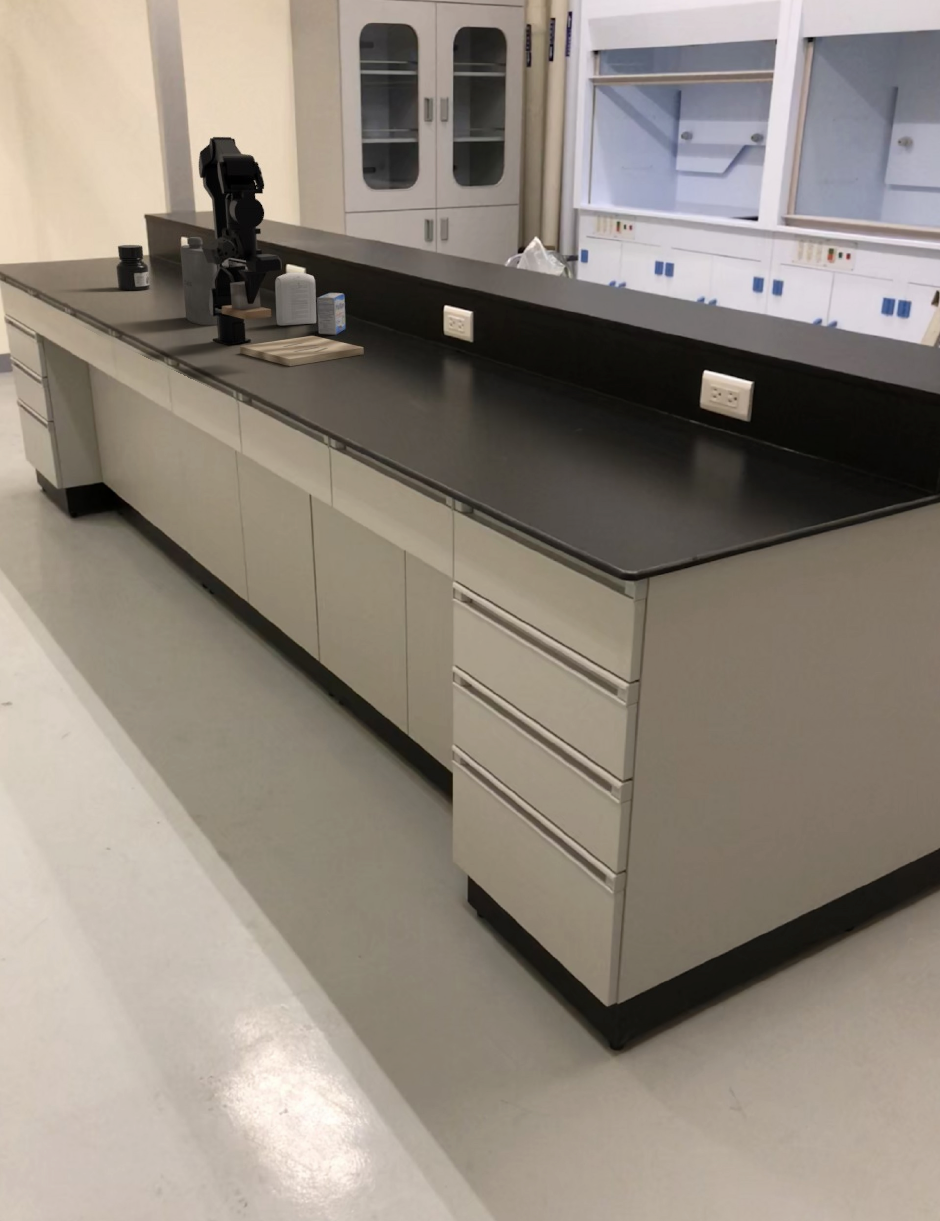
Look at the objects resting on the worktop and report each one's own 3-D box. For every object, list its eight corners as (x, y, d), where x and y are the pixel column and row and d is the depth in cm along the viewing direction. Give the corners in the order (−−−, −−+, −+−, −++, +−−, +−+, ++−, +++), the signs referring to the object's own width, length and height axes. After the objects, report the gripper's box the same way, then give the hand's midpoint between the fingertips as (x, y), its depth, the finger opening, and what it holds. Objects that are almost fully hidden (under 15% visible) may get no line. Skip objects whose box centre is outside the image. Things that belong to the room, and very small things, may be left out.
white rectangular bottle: (311, 321, 282) (309, 270, 277) (319, 323, 279) (317, 272, 274) (274, 324, 277) (271, 272, 272) (281, 326, 274) (279, 274, 269)
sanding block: (222, 313, 232) (220, 281, 229) (246, 310, 235) (244, 278, 233) (246, 319, 226) (244, 286, 223) (271, 316, 230) (269, 284, 227)
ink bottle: (144, 291, 322) (140, 248, 317) (114, 290, 322) (109, 247, 317) (153, 286, 331) (149, 244, 326) (124, 286, 331) (119, 243, 326)
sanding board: (240, 353, 243) (239, 346, 242) (313, 342, 256) (312, 335, 255) (290, 366, 231) (289, 358, 231) (363, 354, 245) (363, 347, 244)
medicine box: (335, 335, 265) (334, 297, 262) (318, 334, 266) (316, 296, 262) (345, 329, 272) (344, 293, 269) (328, 328, 273) (327, 292, 269)
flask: (180, 317, 283) (173, 234, 275) (202, 315, 286) (196, 234, 278) (200, 326, 272) (194, 240, 264) (223, 324, 275) (217, 239, 266)
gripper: (181, 220, 224) (187, 300, 230) (233, 229, 212) (238, 312, 218) (228, 218, 231) (233, 295, 238) (281, 226, 219) (285, 307, 226)
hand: (246, 302), depth 230 cm, fingers closed on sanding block, 3 cm apart
